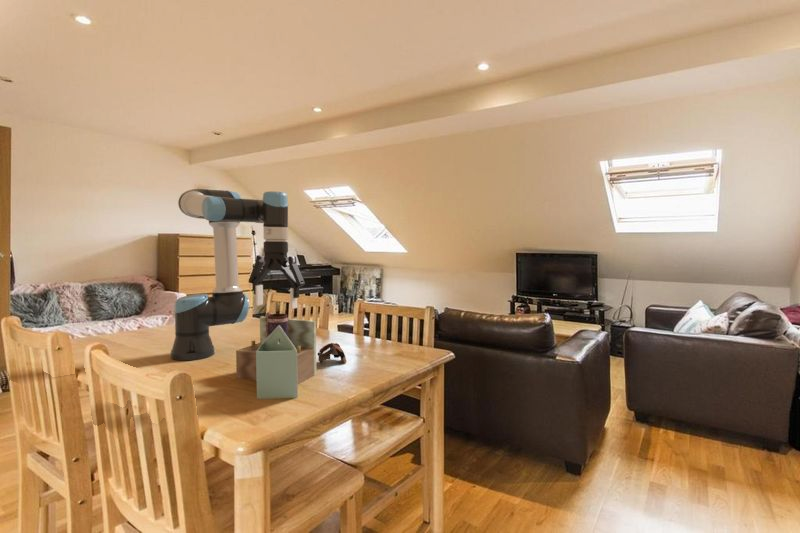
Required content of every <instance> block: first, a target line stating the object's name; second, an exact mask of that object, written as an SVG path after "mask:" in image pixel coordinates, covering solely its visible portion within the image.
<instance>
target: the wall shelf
mask: <svg viewBox="0 0 800 533" xmlns="http://www.w3.org/2000/svg"><path fill="white" fill-rule="evenodd" d="M288 337H289V340H290V341H291V342H292V344H293V345H294V347H295V348H296V350H297V375H298V385H300V384H301V383H303V382H305V381H307V380H309V379H311V378H313V377H315V376H316V375H317V321H316V320H308V319H295V318H288ZM266 338H267V336H266V316H263V315H261V316H260V317H259V341H260V342H258V343H256V340H251V343H250V344H251V345H249V346H246V347H243V348H239V349H237V350H235V356H236V358H235V359H236V360H235V361H236V369H235V370H236V379H240V380H241V379H242V380H248V381H255V382H257V379H256V351H257V349H258V348H259V346H260V345H261V344H262V342H263V341H264V340H265V339H266Z"/></svg>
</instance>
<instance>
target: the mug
mask: <svg viewBox="0 0 800 533" xmlns="http://www.w3.org/2000/svg"><path fill="white" fill-rule="evenodd" d="M265 317H266V336H267V337H268V336H269V335H270V334H271V333H272V332H273V331H274V330H275V329H276V327H277V326H278V325H280V327H281V328H282V330H283V331H284V333H285V334H286V335H287V337H288V319H289V317H288V314H287V313H273V312H271V311H269V312H266V313H265ZM288 338H289V337H288ZM278 342H279V344H280V338H279V341H278Z"/></svg>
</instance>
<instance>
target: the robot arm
mask: <svg viewBox="0 0 800 533" xmlns="http://www.w3.org/2000/svg"><path fill="white" fill-rule="evenodd" d="M177 202H178V203H177V204H178V208H179V210H180V211H181V213H182V214H184V215H185V216H188V217H190V218H195V219H200V220H201V219H202V220H206V221H208V225H209V226H210V227H212V230H213V246H214V247H213V250H214V252H213V253H214V254H213V255H214V272H215V273H214V274H215V288H214V289H213V290H212V292H211V293H212V294H211V296H209V295H208V293H196V294H195V293H194V294H189V295H185V296H184V295H183V296H181V297H179V298H178V299H176V300H175V302H174V311H173V312H174V329H175V330H174V331H175V332H174V334H175V338H174V341H173V343H172V344H173V345H172V349H171V350H170V359H172V360H175V361H194V360H201V359H205V358H210V357H211V356H214V355H215V346H214V345H213V340H212V338H211V336H210V327H214V326H223V325H234V324H238V323H242V322H244V321H245V320H246V319H247V317H248V314H249V310H250V300H249V296H248V295H247V294H245V293H244V292H243V291H244V290H243V288H241V287H240V284H239V266H238V265H239V264H238V263H239V262H238V247H237V246H238V242H237V240H238V239H237V227H238V226H240V224H241V223H254V224H256V223H257V224H262V225H263V226H262V227H263V239H264V240H265V241H263V253H264V254H259V255H256V258H255V263H254V265H253V268H252V271H251V274H250V275H249V279H248V283H249V284H252V285H253V294H254V295H255V306H256V307H257V306H262V305H264V284H262V282H264V280H265V278H266V277H267V275H268V274H269V273H270V271H273V270H276V271H280V272H282V274H283V275H284V277H285V278H286V279H287V281H288V283H289V284H290V286H291V287H290V289H289V290H290V291H289V292H290V294H289V295H290V296H289V297H290V299H289V300H290V306H289V307H290V310H293V309H297V308H298V298H300V289H301V288H300V287H303V286H305V285H306V283H305V280H304V277H303V275H302V273H301V271H300V268H299V265H298V263H297V256H294V255H293V256H292V255H291V256H288V252H289V242H288V241H287V240H289V226H288V225H289V216H288V215H289V213H288V212H289V202H288V195H287V193H286V192H283V191H276V190H275V191H272V190H271V191H264V193H263V194H262V199H254V198H253V199H249V198H243V197H242V196H241V194H239V193H238V192H236V191H230V190H225V189H224V190H222V189H221V190H220V189H207V188H206V189H205V188H193V189H189V190H186V191H184V192H182V193H181V194H180V195H179V198H178V201H177ZM264 262H265V263H264Z"/></svg>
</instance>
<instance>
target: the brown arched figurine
mask: <svg viewBox="0 0 800 533" xmlns="http://www.w3.org/2000/svg"><path fill="white" fill-rule="evenodd" d="M331 355H332V356H333V358H335V359H337V358H340V361H342V362H343V365H346V363H347V358H346V355H345V353H344V349H342V347H341V345H340V344H339V343H337V342H336V343H334V342H330V343H327V344H326V345H324V346H323V347H322V348H320V349H319V351H318V353H316V356H318V362H319V363H320V364H321V363H322V362H324V361H327V360H329V361H331V360H332V359H331Z"/></svg>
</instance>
